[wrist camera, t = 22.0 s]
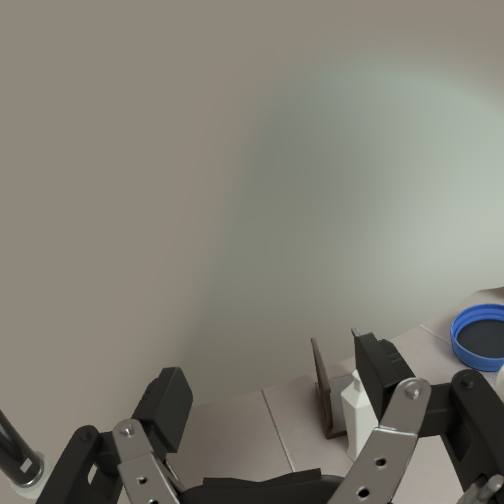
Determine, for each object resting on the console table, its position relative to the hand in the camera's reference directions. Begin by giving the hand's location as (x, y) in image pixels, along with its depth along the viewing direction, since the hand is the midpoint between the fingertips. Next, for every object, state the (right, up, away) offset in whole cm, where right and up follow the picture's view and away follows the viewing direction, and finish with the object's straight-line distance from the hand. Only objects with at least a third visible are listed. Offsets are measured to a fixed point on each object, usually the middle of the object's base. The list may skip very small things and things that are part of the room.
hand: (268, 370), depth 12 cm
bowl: (+43, -12, +23) cm, 50 cm away
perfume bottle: (+13, -21, +15) cm, 29 cm away
